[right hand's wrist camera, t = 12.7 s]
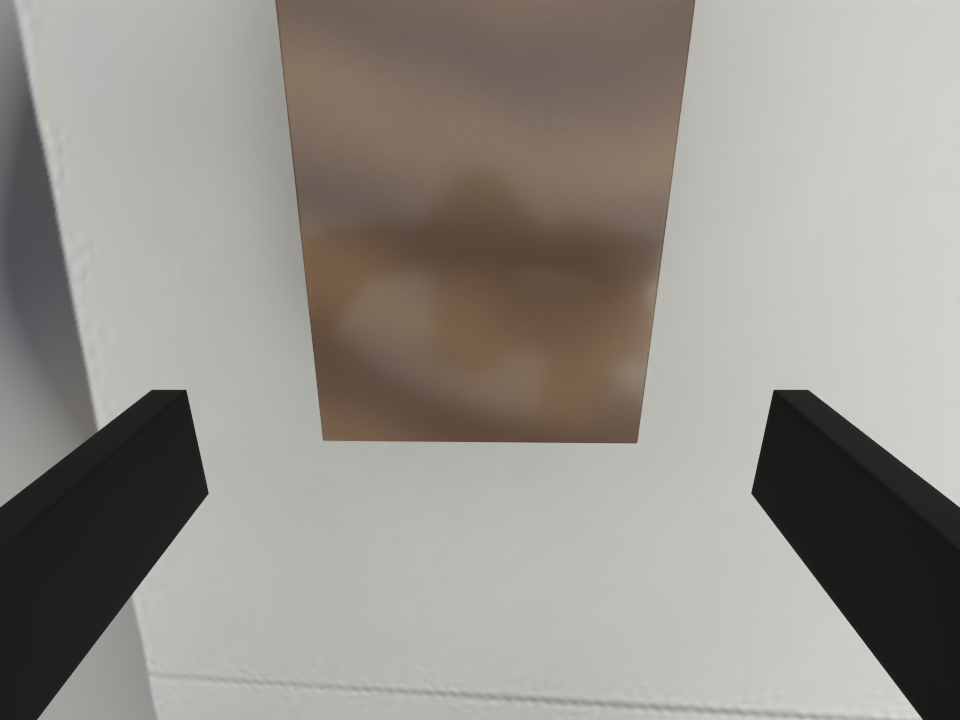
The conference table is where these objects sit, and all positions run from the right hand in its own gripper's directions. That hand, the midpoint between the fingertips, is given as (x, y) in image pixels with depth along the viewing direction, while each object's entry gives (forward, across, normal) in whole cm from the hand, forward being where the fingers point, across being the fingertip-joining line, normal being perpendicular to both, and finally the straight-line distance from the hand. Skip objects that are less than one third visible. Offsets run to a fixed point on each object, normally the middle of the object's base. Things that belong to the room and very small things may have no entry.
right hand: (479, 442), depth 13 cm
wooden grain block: (+15, 0, -4) cm, 16 cm away
